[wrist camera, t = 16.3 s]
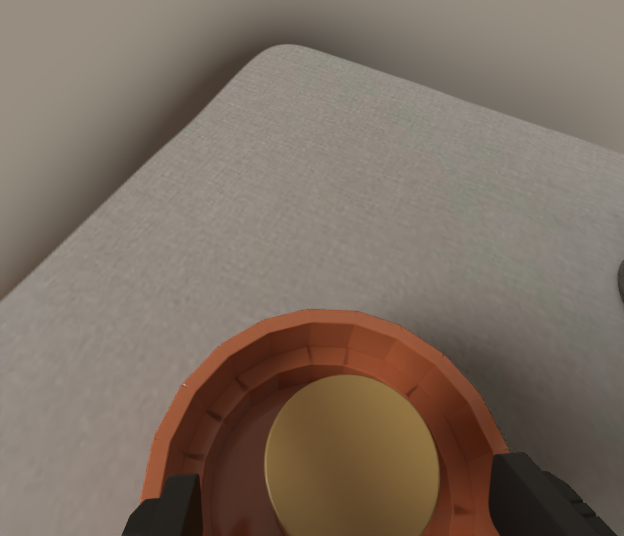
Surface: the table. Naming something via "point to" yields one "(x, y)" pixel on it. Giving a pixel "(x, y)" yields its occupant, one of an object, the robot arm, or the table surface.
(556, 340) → the table surface
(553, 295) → the table surface
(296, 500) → the spice jar
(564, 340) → the table surface
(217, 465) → the bowl
